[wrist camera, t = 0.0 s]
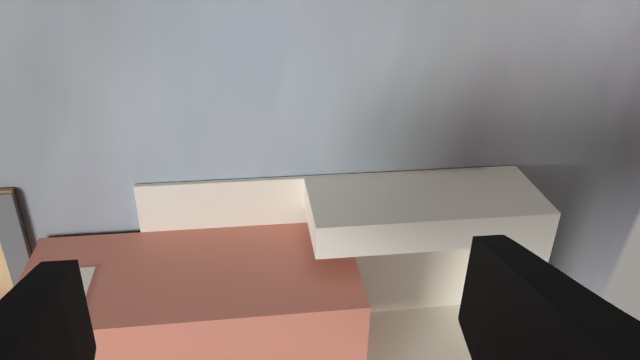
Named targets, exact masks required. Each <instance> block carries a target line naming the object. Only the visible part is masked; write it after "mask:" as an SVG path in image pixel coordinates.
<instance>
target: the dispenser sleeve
mask: <svg viewBox="0 0 640 360" xmlns="http://www.w3.org/2000/svg"><path fill="white" fill-rule="evenodd" d="M134 193H135V199H136V206H137V212H138V219H139V225H140V231H141V232H154V231H170V230H187V229H204V228H221V227H238V226H255V225H272V224H288V223H305V222H307V223H308V228H309V232H310V237H311V241H312V246H313V251H314V255H315V260H316V259H331V258H346V257H355V260H356V263H357V266H358V269H359V272H360V276H361V279H362V282H363V285H364V288H365V291H366V294H367V298H368V301H369V304H370V307H371V311H370V324H369V337H368V349H367V360H472V359H471V356H470V353H469V350H468V348H467V345H466V342H465V339H464V336H463V333H462V330H461V327H460V324H459V321H458V315H459V310H460V304H461V299H462V293H463V288H464V283H465V277H466V272H467V266H468V261H469V255H470V250H471V244H472V239H473V236H486V235H505V236H507V237H509V238H511V239H512V240H514V241H516V242H517V243H519V244H520V245H522V246H523V247H525V248H527V249H528V250H530V251H531V252H533V253H534V254H536V255H537V256H539V257H540V258H542V259H543V260H545V261H546V262H549V258H550V255H551V251H552V247H553V243H554V239H555V235H556V231H557V227H558V223H559V220H560V216H561V213H560V212H559V211H558V210H557V209H556V208H555V207H554V206H553V205H552V204H551V202H550V201H549V200H548V199H547V198H546V197H545V196H544V195H543V194H542V193H541V192H540V191H539V190H538V189H537V188H536V187H535V186H534V184H533V183H532V182H531V181H530V180H529V179H528V178H527V177H526V176H525V175H524V174H523V173H522V172H521V171H520V170H519V169H518V168H517V167H516V166H496V167H476V168H455V169H435V170H414V171H394V172H373V173H353V174H333V175H312V176H292V177H271V178H251V179H230V180H210V181H189V182H169V183H148V184H134ZM18 207H19V206H18V202H17V198H16V194H15V191H13V193H1V194H0V243H1V246H2V250H3V253H4V256H5V260H6V263H7V267H8V270H9V273H10V277H11V280H12V283H13V287H14V286H15V285H16V284H17V283H18V281H19V279H20V277H21V275H22V273H23V271H24V269H25V267H26V265H27V263H28V261H29V259H30V257H31V256H30V255H31V250H30V249H29V248H30V246H29V245H28V239H27V238H26V237H27V235H26V231H25V228H24V226H23V225H24V224H23V223H22V222H23V220H22V218H21V214H20V209H19V208H18ZM24 231H25V232H24ZM26 243H27V244H26ZM29 251H30V253H29Z"/></svg>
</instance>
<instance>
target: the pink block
mask: <svg viewBox="0 0 640 360" xmlns="http://www.w3.org/2000/svg"><path fill="white" fill-rule="evenodd" d="M77 259H78V263H79V268H80V272H81V277H82V282H83V286H84V291H85V296H86V300H87V305H88V310H89V314H90V319H91V324H92V328H93V333H94V337H95V342H96V354H95V360H367V349H368V337H369V324H370V311H371V307H370V304H369V301H368V298H367V294H366V291H365V288H364V285H363V282H362V279H361V276H360V272H359V269H358V266H357V263H356V260H355V257H346V258H331V259H316V260H315V255H314V251H313V246H312V241H311V237H310V232H309V228H308V223H307V222H305V223H288V224H272V225H255V226H238V227H221V228H204V229H187V230H170V231H154V232H137V233H120V234H103V235H86V236H69V237H52V238H40V239H39V241H38V243H37V245H36V247H35V249H34V251H33V253H32V255H31V257H30V259H29V261H28V263H27V265H26V267H25V269H24V271H23V273H22V275H21V277H20V279H19V281H20V280H21V279H22V278H24V277H25V276H26V275H27V274H28V273H29V272H30V271H31V270H32V269H33V268H34V267H35V266H37V265H38V264H39V263H40V262H43V261H60V260H77ZM19 281H18V282H19Z"/></svg>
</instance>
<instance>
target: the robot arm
mask: <svg viewBox="0 0 640 360" xmlns="http://www.w3.org/2000/svg"><path fill="white" fill-rule="evenodd" d="M458 321H459V324H460V327H461V330H462V333H463V336H464V339H465V342H466V345H467V348H468V350H469V353H470V356H471V359H472V360H640V321H639V320H637V319H635V318H634V317H632V316H630V315H628V314H627V313H625V312H623V311H622V310H620V309H618V308H617V307H615V306H614V305H612V304H611V303H609V302H607V301H605V300H604V299H603V298H601V297H599V296H598V295H596V294H595V293H593V292H592V291H590V290H589V289H587V288H585V287H584V286H582V285H581V284H579V283H578V282H576V281H575V280H573V279H572V278H570V277H569V276H567V275H566V274H564V273H563V272H561V271H560V270H558V269H557V268H555V267H554V266H552V265H551V264H549V263H548V262H546V261H545V260H543V259H542V258H540V257H539V256H537V255H536V254H534V253H533V252H531V251H530V250H528V249H527V248H525V247H523V246H522V245H520V244H519V243H517V242H516V241H514V240H512V239H511V238H509V237H507V236H505V235H486V236H473V239H472V244H471V250H470V255H469V261H468V266H467V272H466V277H465V283H464V288H463V293H462V299H461V304H460V310H459V315H458ZM95 354H96V342H95V337H94V333H93V328H92V324H91V319H90V314H89V310H88V305H87V300H86V296H85V291H84V286H83V282H82V277H81V272H80V268H79V263H78V259H77V260H60V261H43V262H40V263H39V264H38V265H37V266H35V267H34V268H33V269H32V270H31V271H30V272H29V273H28V274H27V275H26V276H25V277H24V278H22V279H21V280H20V281H19V282H18V283H17V284H16V285H15V286H14V287H13V288H12V289H11V290H10V291H9V292H8V293H7V294H6V295H5V296H4V297H2V298H1V299H0V360H95Z"/></svg>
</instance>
